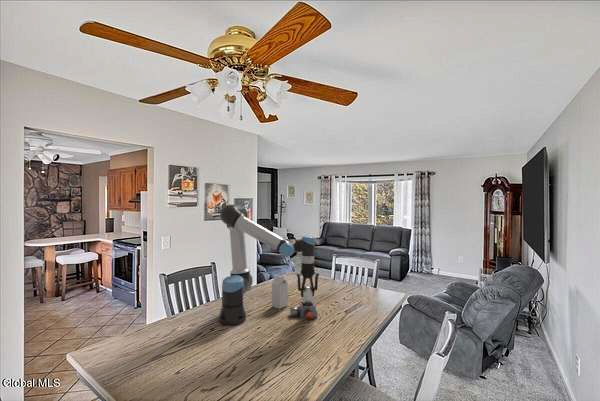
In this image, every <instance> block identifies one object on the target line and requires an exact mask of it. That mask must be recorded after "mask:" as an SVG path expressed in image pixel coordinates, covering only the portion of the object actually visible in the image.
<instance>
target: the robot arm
mask: <svg viewBox="0 0 600 401" xmlns="http://www.w3.org/2000/svg"><path fill="white" fill-rule="evenodd" d="M219 215H220V216H219V217H220V220H221V221H222V222H223V224H225V225H226V228H227V229H228V230H229V239H230V251H231V263H232V264H231V266H232V269H231V271H230V275H229V276H227V277H225V278H223V279H222V283H221V308H220V311H219V314H218V323H219V324H221V325H224V326H236V325H240V324H243V323H244V322H245V321H246V320H247V313H246V309H245V307H244V295H245V294H246V293H247V292H248V291H249V290H250V289H251V287H252V286H253V283H254V282H253V275H252V274H251V270H250V269H249V268H248V264H247V253H246V252H247V250H246V241H245V240H246V239H245V238H246V236H245V234H246V235H248V236H250V237H251V238H253V239H255V240H257V241H259V242H260V243H262V244H263V245H266V246H268V247H270V248H271V249H274V250H275V251H277V252H278V253H279V254H280V255H281V257H284V258H289V257H291V256H293V255H294V253H301V269H300V272H299V273H298V272H296V277H297V290H298V291H299V292H300V296H301V298H302V302H303V303H305V292H304V286H306V280H308V279H309V283H310V286H311V287H312V290H311V303H312V301H313V297H314V296H315V291H318V284H319V277H320V273H319V272H316V271H315V248H316V247H315V244H316V243H315V237H314V236H312V235H303V236H302V237H301V239H297V238H283V237H281V236H280V235H277V234H276V233H274V232H272V231H271V230H269V229H268V228H265V227H263V226H262V225H260V224H258V223H256V222H255V221H253V220H251V219H249V218H248V210H247V208H246V207H245V206H244V205H241V204H227V205H224V206H223V207H222V208H221V211H220V213H219ZM301 276H302V282H301ZM313 276H315V277H314V282H313Z"/></svg>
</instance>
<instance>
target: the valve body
mask: <svg viewBox="0 0 600 401" xmlns="http://www.w3.org/2000/svg"><path fill="white" fill-rule="evenodd" d="M303 304H304V303H303V301H299V306H297V307H289V308H290V309H289V315H290V317H297V316H298V317H299V319H306V320H308V321H311V320H313V319H316V318H318V310H317V308H316V307H317V306H316V303H315V304H314V301H313V300H312V303H311V306H303Z"/></svg>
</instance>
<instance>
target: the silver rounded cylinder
mask: <svg viewBox="0 0 600 401" xmlns="http://www.w3.org/2000/svg"><path fill="white" fill-rule="evenodd" d="M311 290H312V287H311V285H305V286H304V292H305V303H304V304H303V306H311Z"/></svg>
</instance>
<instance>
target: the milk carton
mask: <svg viewBox="0 0 600 401" xmlns="http://www.w3.org/2000/svg"><path fill="white" fill-rule="evenodd" d="M287 306H288V281H287V280H286V279H285V277H284V276H279V275H275V277H274V279H273V280H272V282H271V307H273V308H276V309H279V310H280V309H283V308H285V307H287Z"/></svg>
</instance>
